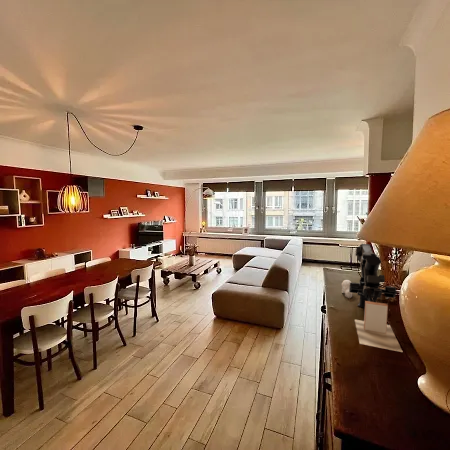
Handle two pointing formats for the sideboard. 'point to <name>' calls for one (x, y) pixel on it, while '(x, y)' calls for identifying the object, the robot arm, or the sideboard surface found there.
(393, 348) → the board
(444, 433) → the sideboard surface
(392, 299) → the lion figurine
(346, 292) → the white rounded lump
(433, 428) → the sideboard surface
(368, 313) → the tile
